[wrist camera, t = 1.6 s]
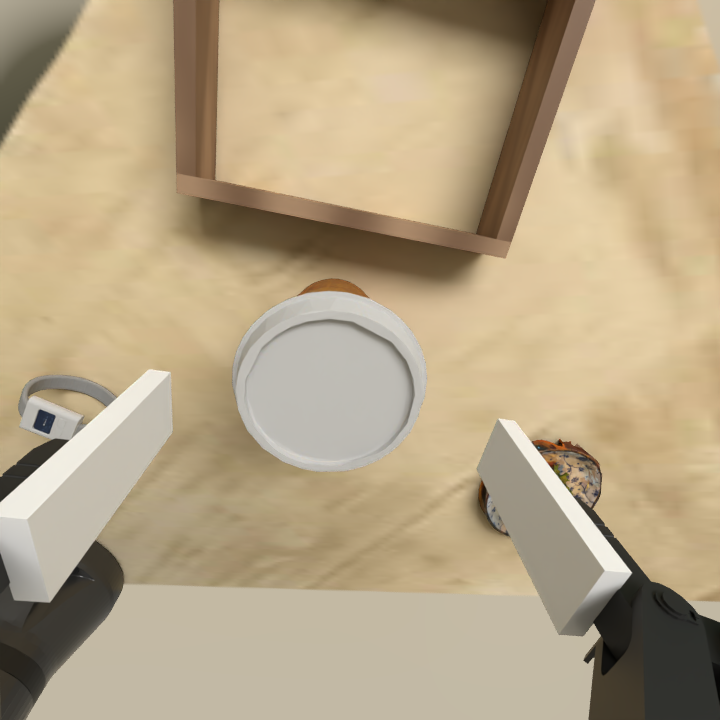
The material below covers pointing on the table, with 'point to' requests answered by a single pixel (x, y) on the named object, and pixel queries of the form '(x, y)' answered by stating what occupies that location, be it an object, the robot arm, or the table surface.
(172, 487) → the table surface
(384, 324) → the disposable coffee cup
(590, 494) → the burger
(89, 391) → the wristwatch
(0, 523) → the robot arm
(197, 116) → the rectangular wooden frame
